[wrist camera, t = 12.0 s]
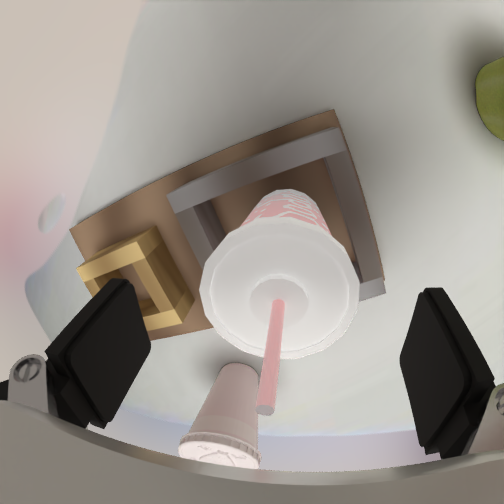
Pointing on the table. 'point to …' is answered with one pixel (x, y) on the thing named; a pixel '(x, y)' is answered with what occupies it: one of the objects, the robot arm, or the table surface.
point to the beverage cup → (280, 286)
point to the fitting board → (224, 219)
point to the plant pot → (491, 96)
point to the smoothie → (227, 421)
